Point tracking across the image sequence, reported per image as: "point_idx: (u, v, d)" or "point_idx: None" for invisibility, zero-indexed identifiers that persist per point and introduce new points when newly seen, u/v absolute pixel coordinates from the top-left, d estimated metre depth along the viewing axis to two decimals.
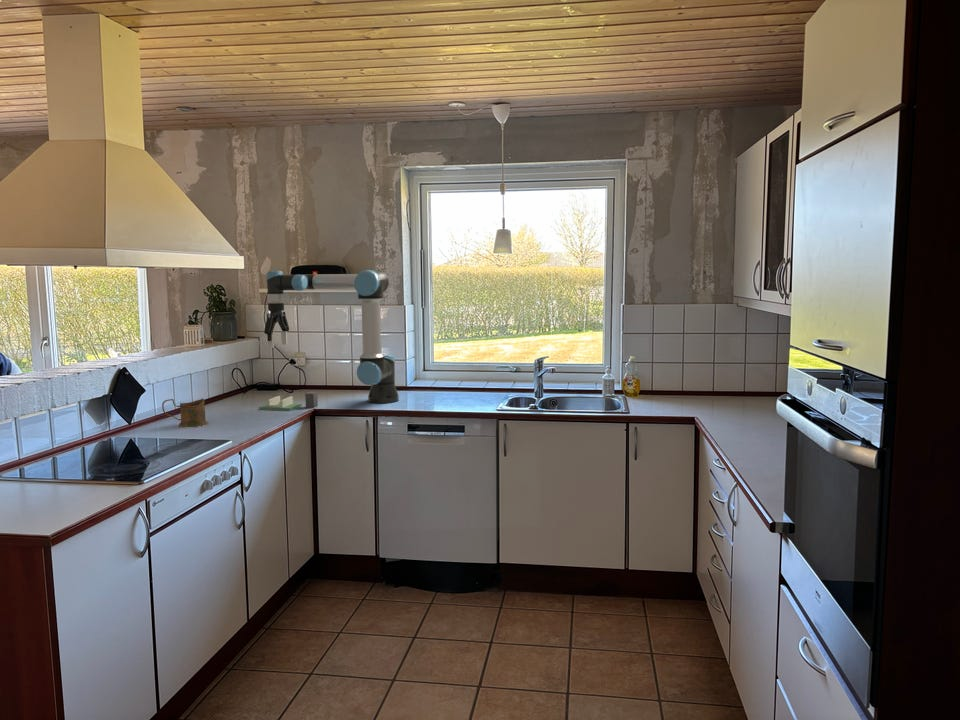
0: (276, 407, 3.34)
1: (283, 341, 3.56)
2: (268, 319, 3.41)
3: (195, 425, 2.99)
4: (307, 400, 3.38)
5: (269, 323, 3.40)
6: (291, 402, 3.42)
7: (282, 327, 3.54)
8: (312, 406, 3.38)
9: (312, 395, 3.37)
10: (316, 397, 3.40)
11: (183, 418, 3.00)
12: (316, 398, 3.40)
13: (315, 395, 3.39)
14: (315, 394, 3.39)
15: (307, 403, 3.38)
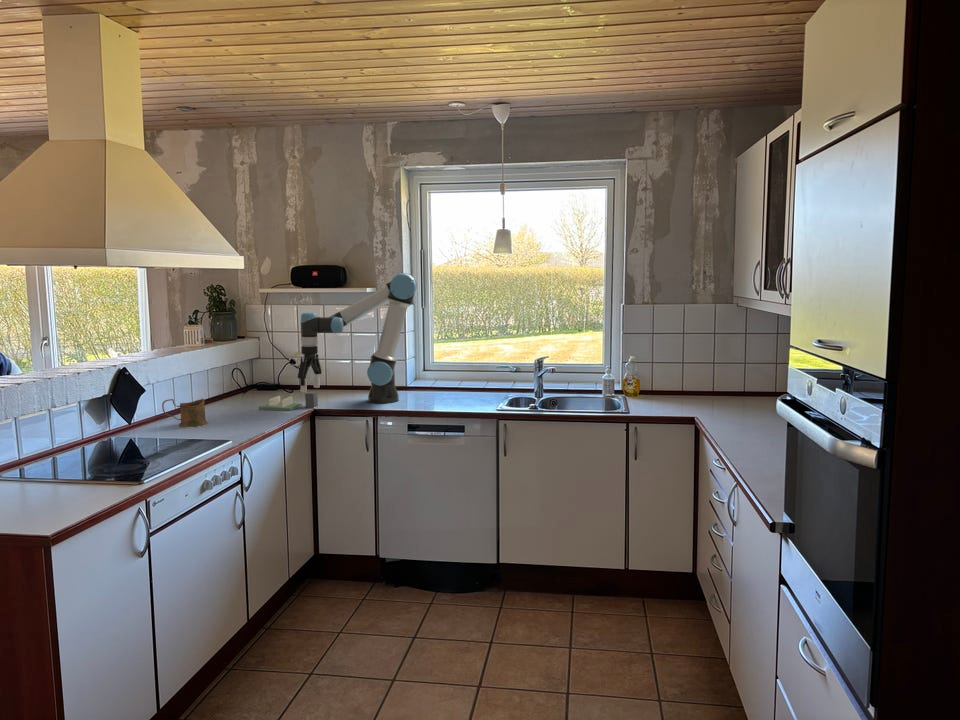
0: (276, 407, 3.34)
1: (315, 384, 3.45)
2: (302, 363, 3.30)
3: (195, 425, 2.99)
4: (307, 400, 3.38)
5: (303, 367, 3.29)
6: (291, 402, 3.42)
7: (315, 370, 3.44)
8: (312, 406, 3.38)
9: (312, 395, 3.37)
10: (316, 397, 3.40)
11: (183, 418, 3.00)
12: (316, 398, 3.40)
13: (315, 395, 3.39)
14: (315, 394, 3.39)
15: (307, 403, 3.38)
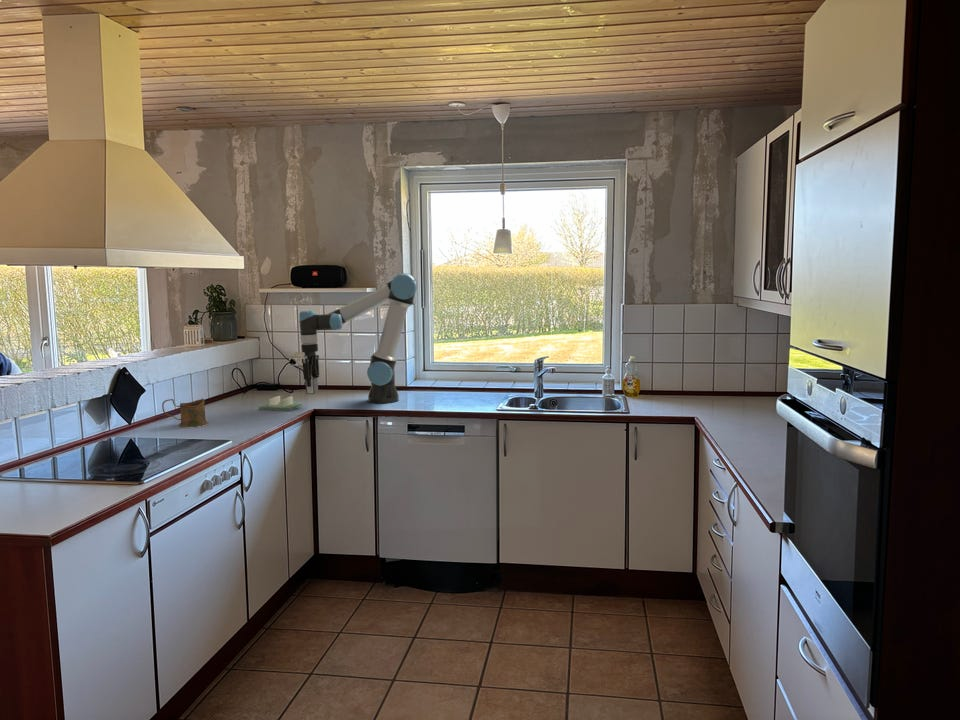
0: (276, 407, 3.34)
1: None
2: (304, 365, 3.32)
3: (195, 425, 2.99)
4: None
5: (306, 369, 3.32)
6: (291, 402, 3.42)
7: (313, 372, 3.40)
8: None
9: None
10: (316, 383, 3.39)
11: (183, 418, 3.00)
12: (316, 384, 3.39)
13: (315, 381, 3.38)
14: (315, 380, 3.38)
15: None
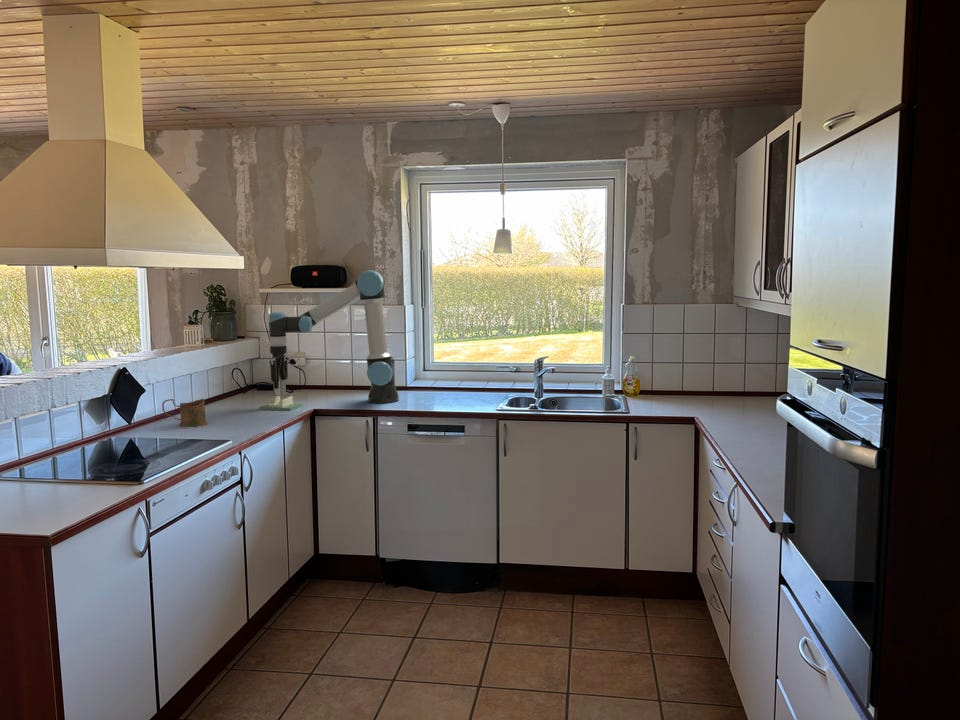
0: (276, 407, 3.34)
1: None
2: (272, 366, 3.31)
3: (195, 425, 2.99)
4: None
5: (274, 371, 3.31)
6: (291, 402, 3.42)
7: (281, 373, 3.40)
8: None
9: (280, 383, 3.36)
10: (284, 385, 3.39)
11: (183, 418, 3.00)
12: (284, 386, 3.39)
13: (283, 383, 3.37)
14: (283, 382, 3.37)
15: None
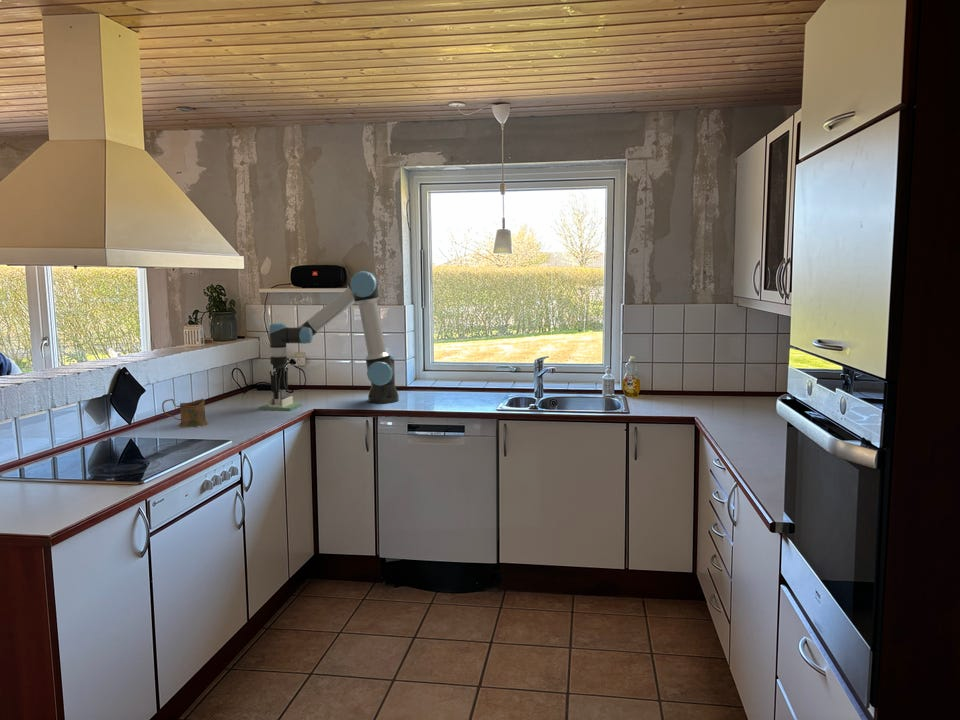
0: (276, 407, 3.34)
1: None
2: (272, 377, 3.32)
3: (195, 425, 2.99)
4: None
5: (274, 382, 3.32)
6: (291, 402, 3.42)
7: (281, 384, 3.40)
8: None
9: (280, 392, 3.36)
10: (284, 395, 3.39)
11: (183, 418, 3.00)
12: (284, 396, 3.39)
13: (283, 392, 3.38)
14: (283, 391, 3.38)
15: None
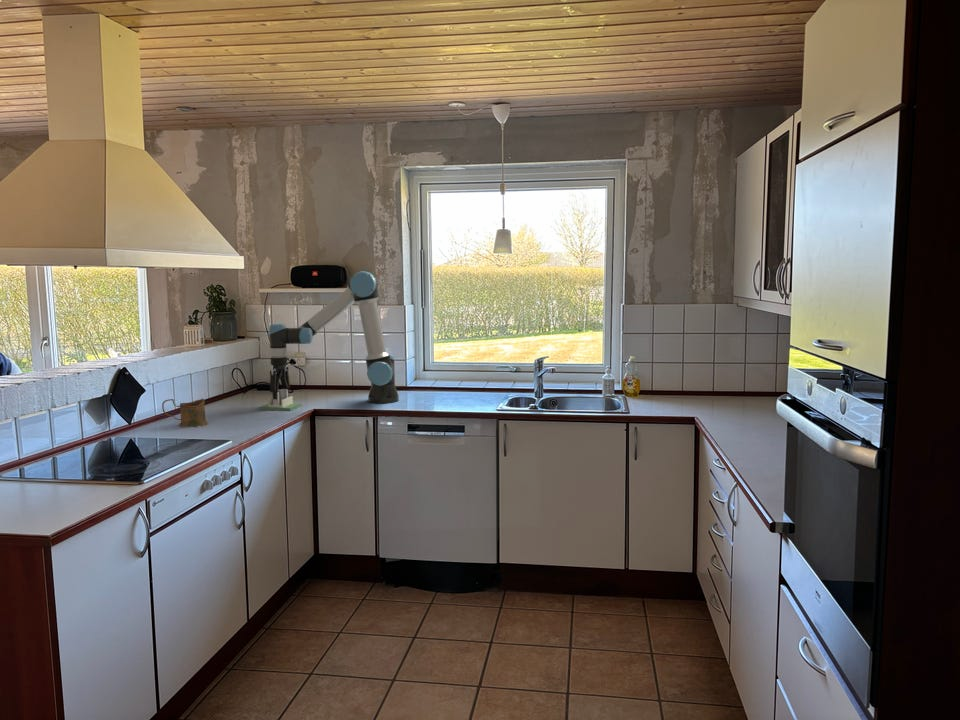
0: (276, 407, 3.34)
1: None
2: (272, 377, 3.31)
3: (195, 425, 2.99)
4: None
5: (273, 381, 3.31)
6: (291, 402, 3.42)
7: (283, 383, 3.42)
8: (280, 403, 3.37)
9: (279, 392, 3.36)
10: (283, 394, 3.39)
11: (183, 418, 3.00)
12: (283, 395, 3.39)
13: (282, 392, 3.38)
14: (282, 391, 3.38)
15: None
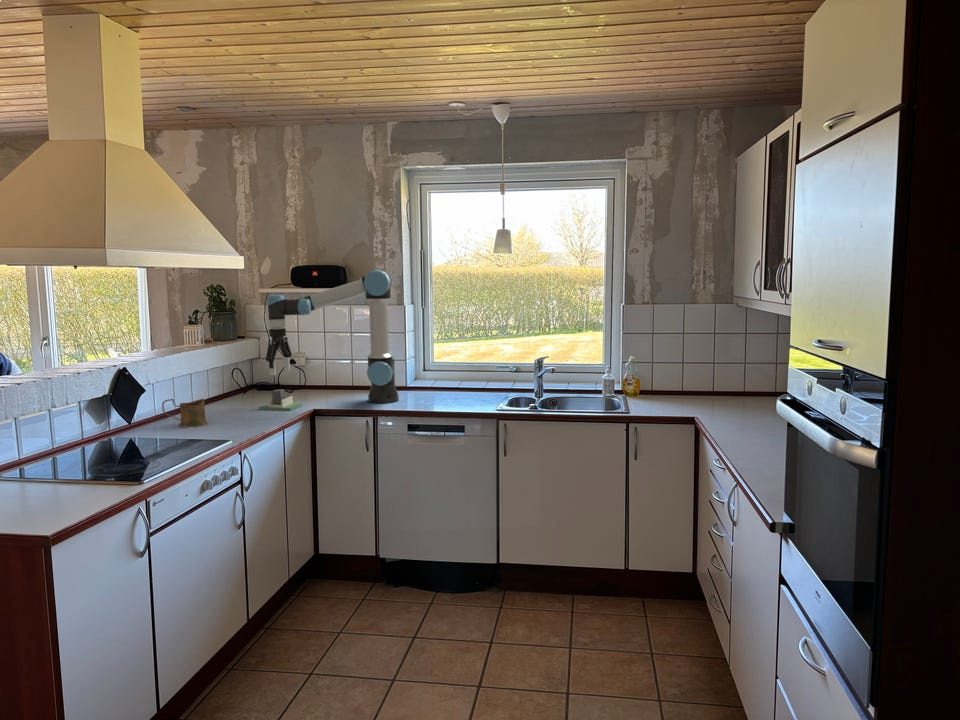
0: (276, 407, 3.34)
1: (285, 367, 3.43)
2: (270, 346, 3.28)
3: (195, 425, 2.99)
4: (274, 398, 3.37)
5: (271, 350, 3.28)
6: (291, 402, 3.42)
7: (284, 353, 3.42)
8: (280, 403, 3.37)
9: (279, 392, 3.36)
10: (283, 394, 3.39)
11: (183, 418, 3.00)
12: (283, 395, 3.39)
13: (282, 392, 3.38)
14: (282, 391, 3.38)
15: (275, 400, 3.37)
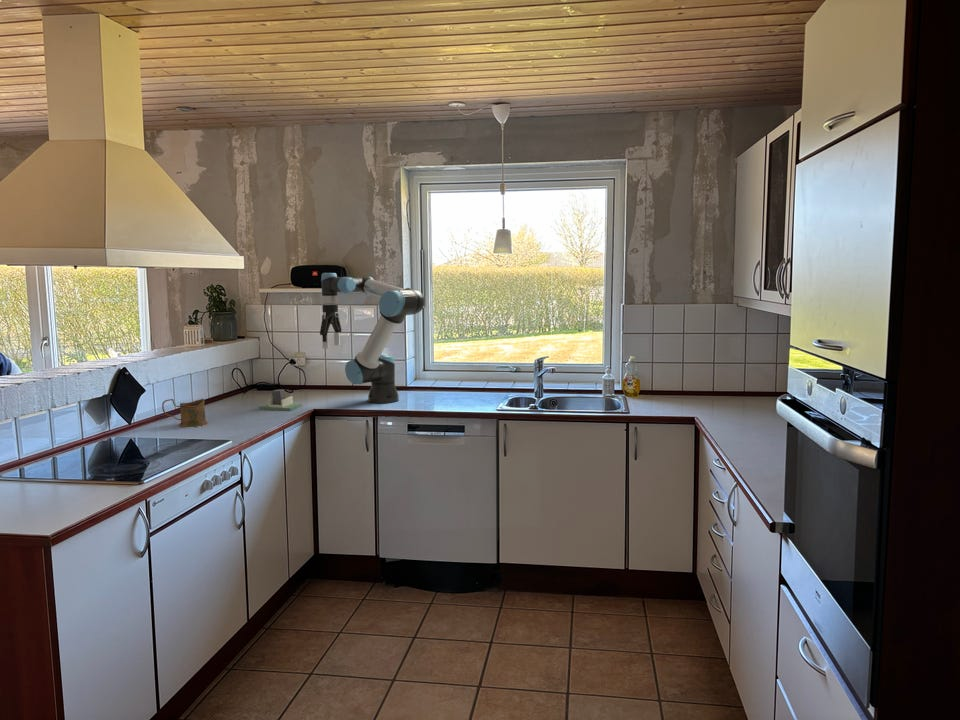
0: (276, 407, 3.34)
1: (336, 342, 3.62)
2: (323, 320, 3.47)
3: (195, 425, 2.99)
4: (274, 398, 3.37)
5: (324, 324, 3.46)
6: (291, 402, 3.42)
7: (335, 328, 3.60)
8: (280, 403, 3.37)
9: (279, 392, 3.36)
10: (283, 394, 3.39)
11: (183, 418, 3.00)
12: (283, 395, 3.39)
13: (282, 392, 3.38)
14: (282, 391, 3.38)
15: (275, 400, 3.37)
